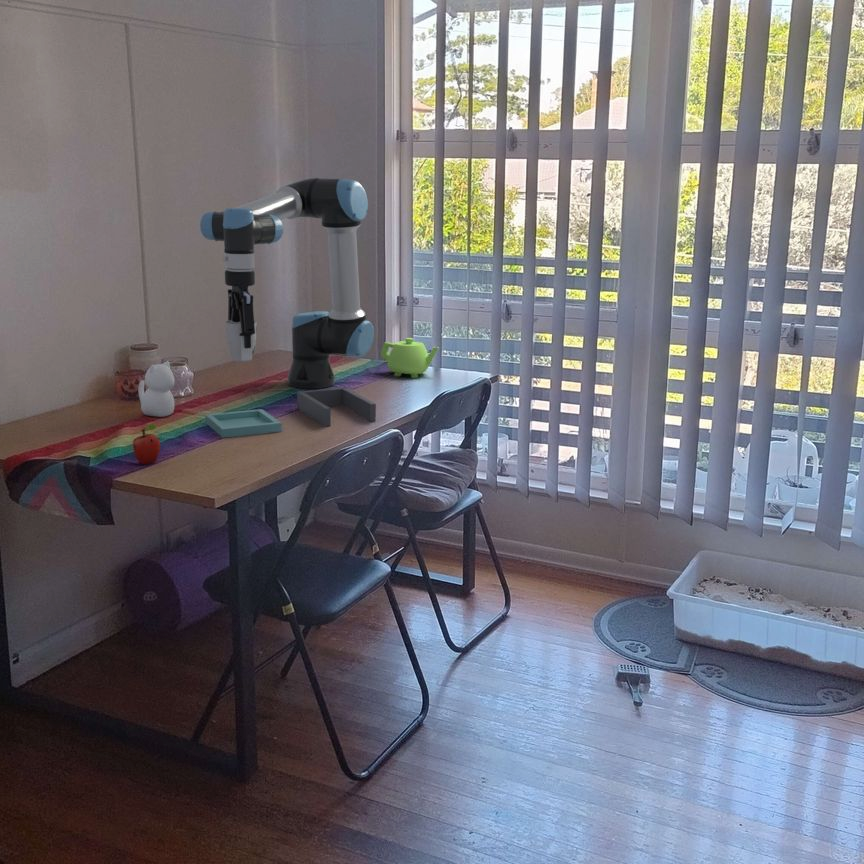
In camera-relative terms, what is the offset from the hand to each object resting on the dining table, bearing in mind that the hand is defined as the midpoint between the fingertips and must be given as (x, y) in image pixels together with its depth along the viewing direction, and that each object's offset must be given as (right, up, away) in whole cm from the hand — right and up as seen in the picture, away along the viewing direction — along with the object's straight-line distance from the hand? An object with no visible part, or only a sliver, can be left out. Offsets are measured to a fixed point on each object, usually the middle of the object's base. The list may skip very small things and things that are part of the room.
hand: (241, 356), depth 254 cm
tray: (-1, -18, +5) cm, 19 cm away
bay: (+23, -15, +20) cm, 34 cm away
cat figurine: (-27, -15, +15) cm, 34 cm away
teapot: (+42, 0, +75) cm, 86 cm away
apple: (-17, -27, -27) cm, 42 cm away
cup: (0, -1, 0) cm, 1 cm away
